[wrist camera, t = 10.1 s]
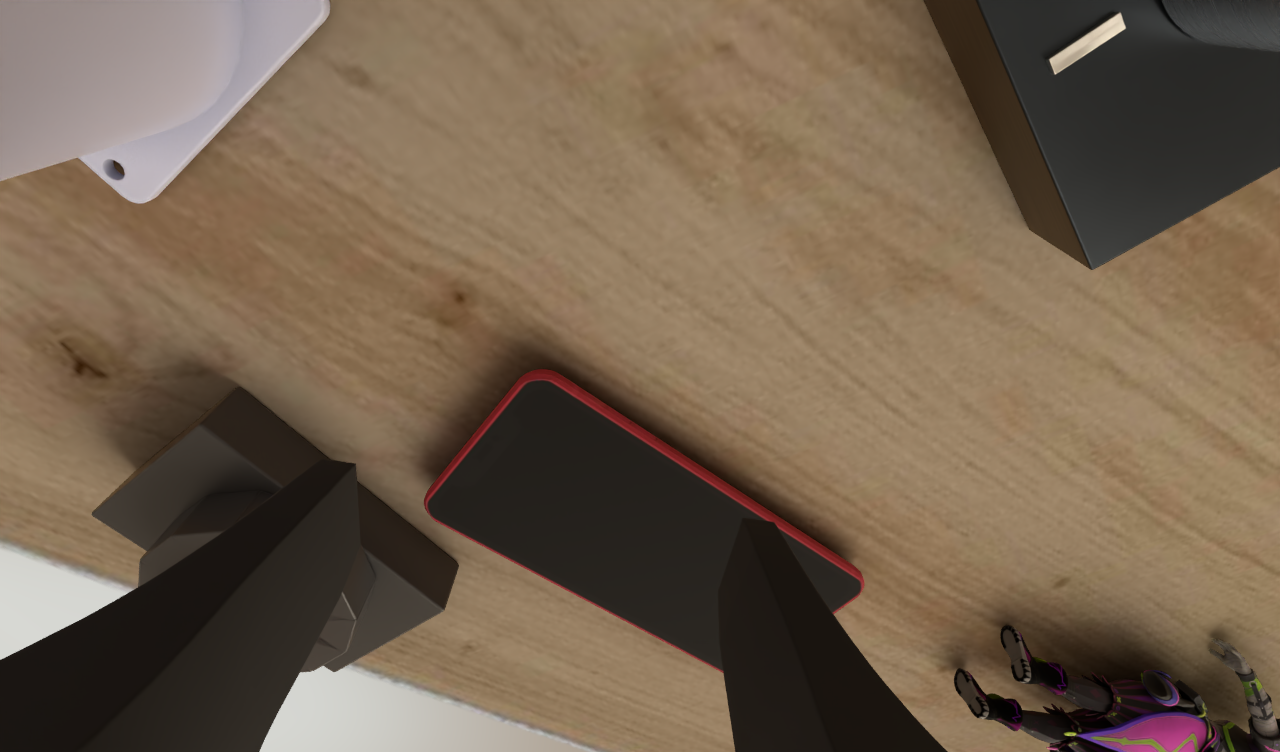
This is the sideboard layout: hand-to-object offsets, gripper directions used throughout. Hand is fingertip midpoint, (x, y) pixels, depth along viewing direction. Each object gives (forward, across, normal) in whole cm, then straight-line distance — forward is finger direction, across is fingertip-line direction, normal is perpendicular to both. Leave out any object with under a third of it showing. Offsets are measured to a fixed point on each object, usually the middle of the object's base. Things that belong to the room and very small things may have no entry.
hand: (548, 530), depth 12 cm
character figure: (+9, -26, +14) cm, 30 cm away
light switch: (+9, +9, +10) cm, 16 cm away
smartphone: (+9, -4, +8) cm, 12 cm away
